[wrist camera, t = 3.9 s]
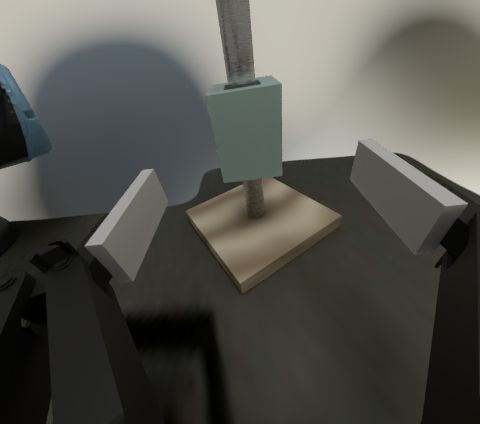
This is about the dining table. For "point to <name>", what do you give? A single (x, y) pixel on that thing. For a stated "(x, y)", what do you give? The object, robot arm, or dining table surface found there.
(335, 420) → the dining table surface
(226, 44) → the post
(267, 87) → the sleeve
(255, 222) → the stand base
